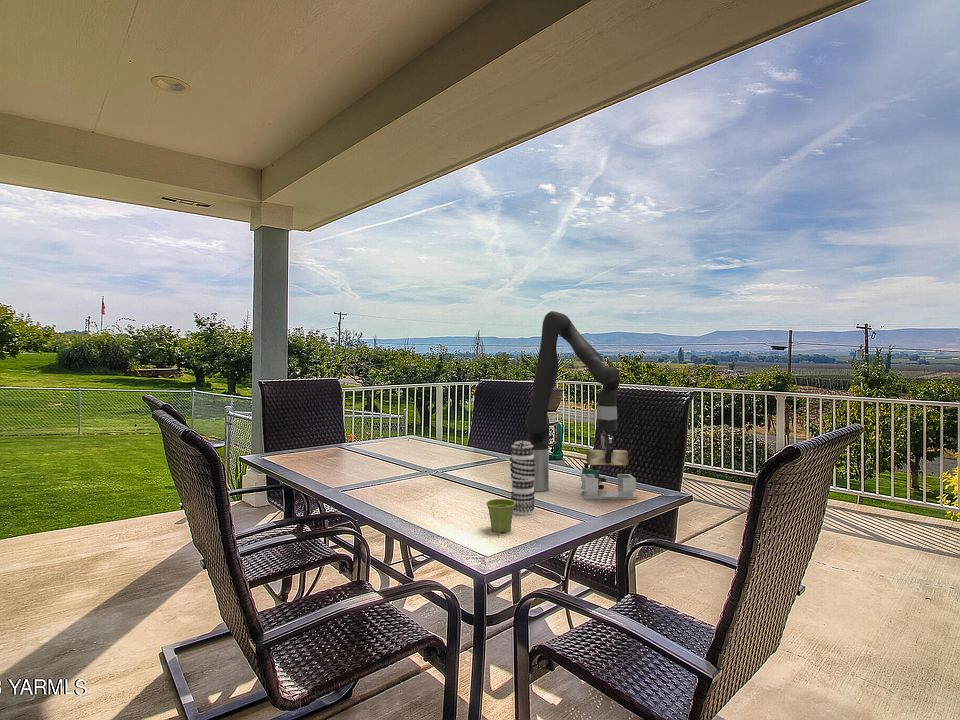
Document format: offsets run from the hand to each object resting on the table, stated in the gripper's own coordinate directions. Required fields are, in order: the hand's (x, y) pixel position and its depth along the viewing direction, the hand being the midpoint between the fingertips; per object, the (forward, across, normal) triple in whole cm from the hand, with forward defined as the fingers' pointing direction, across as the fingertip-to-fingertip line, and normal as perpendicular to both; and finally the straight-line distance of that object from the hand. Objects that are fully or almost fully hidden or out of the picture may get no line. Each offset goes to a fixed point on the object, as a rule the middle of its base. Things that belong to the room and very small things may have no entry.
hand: (606, 461), depth 192 cm
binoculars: (+15, -20, -2) cm, 25 cm away
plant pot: (+16, +36, -40) cm, 56 cm away
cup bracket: (+15, -6, +2) cm, 16 cm away
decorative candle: (+15, +16, -33) cm, 40 cm away
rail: (+1, 0, 0) cm, 1 cm away
